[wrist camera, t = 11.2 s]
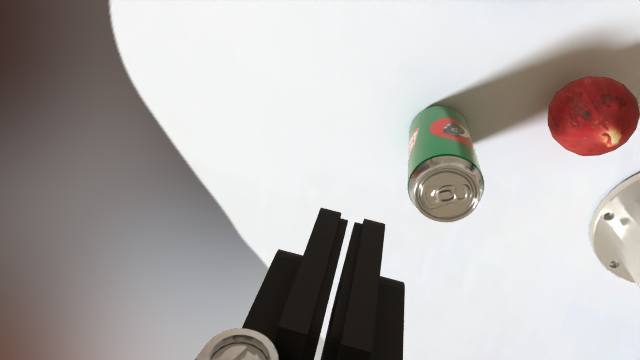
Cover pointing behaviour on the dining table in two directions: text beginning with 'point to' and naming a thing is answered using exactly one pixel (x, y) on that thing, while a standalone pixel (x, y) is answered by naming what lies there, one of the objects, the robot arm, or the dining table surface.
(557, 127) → the onion
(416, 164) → the soda can
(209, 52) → the dining table surface
